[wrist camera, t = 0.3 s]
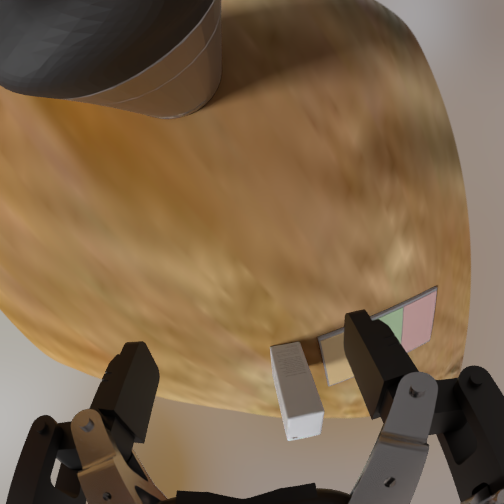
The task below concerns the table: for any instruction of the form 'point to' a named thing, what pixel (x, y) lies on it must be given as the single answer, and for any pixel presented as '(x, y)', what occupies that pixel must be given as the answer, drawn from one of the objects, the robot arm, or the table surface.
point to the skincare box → (296, 392)
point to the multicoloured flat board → (401, 323)
